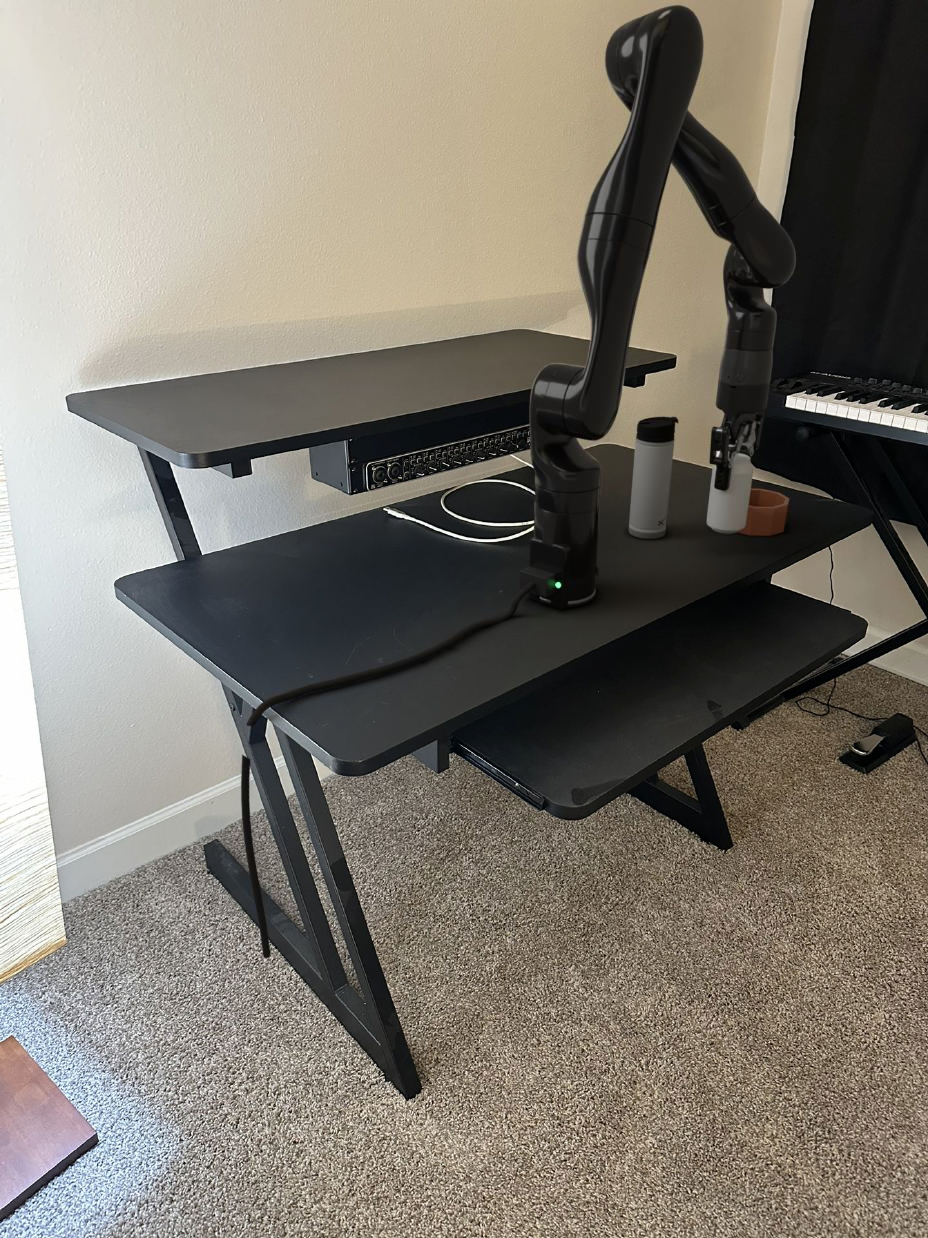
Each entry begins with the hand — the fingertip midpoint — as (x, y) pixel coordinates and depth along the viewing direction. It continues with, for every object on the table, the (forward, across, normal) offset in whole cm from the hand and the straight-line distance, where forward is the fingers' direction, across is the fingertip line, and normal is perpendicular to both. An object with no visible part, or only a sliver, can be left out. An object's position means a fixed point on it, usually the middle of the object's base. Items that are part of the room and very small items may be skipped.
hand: (730, 483), depth 143 cm
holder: (+11, -14, -1) cm, 18 cm away
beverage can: (+8, 0, 0) cm, 8 cm away
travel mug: (+12, +1, -13) cm, 18 cm away
